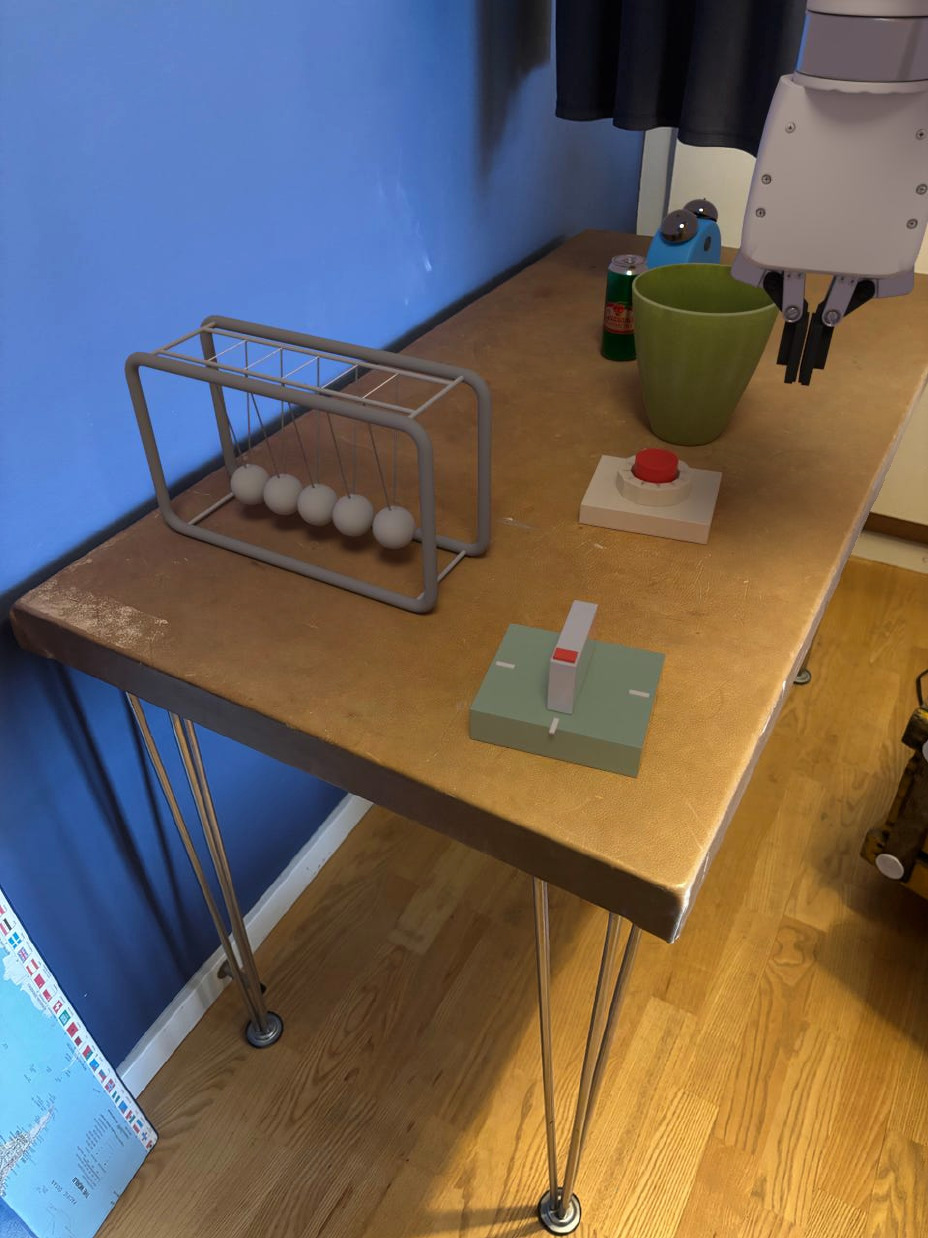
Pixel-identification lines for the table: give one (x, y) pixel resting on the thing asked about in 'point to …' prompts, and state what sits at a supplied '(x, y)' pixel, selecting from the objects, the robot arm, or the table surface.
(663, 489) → the button block
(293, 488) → the newton's cradle
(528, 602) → the table surface
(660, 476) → the button
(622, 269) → the soda can
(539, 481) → the table surface
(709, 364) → the flower pot
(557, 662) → the tap handle
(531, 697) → the panel
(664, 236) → the alarm clock
